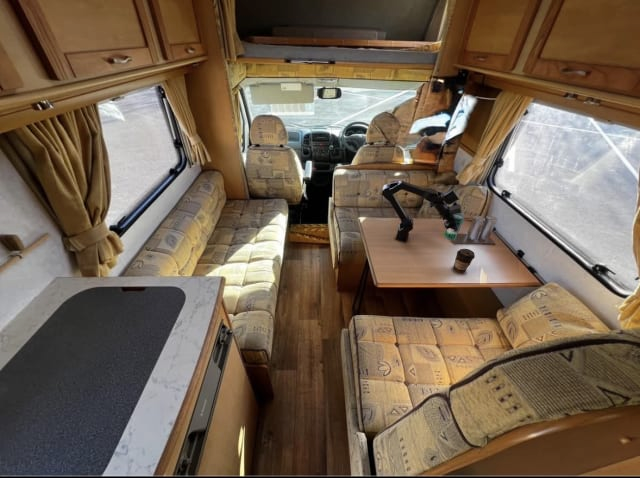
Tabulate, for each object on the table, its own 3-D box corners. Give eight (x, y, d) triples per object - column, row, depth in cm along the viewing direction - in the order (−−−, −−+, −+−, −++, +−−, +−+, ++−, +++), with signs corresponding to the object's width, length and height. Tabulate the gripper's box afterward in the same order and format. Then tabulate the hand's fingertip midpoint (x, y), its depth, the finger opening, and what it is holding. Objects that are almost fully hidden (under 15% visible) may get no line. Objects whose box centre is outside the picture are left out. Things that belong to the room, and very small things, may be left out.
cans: (468, 240, 163) (476, 220, 155) (463, 235, 168) (472, 215, 160) (489, 241, 163) (499, 220, 155) (484, 235, 168) (494, 215, 159)
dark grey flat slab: (454, 244, 162) (455, 242, 162) (448, 235, 171) (448, 233, 170) (494, 244, 162) (495, 243, 162) (486, 235, 170) (487, 234, 170)
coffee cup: (465, 278, 137) (474, 259, 130) (449, 272, 141) (456, 253, 133) (468, 269, 143) (476, 250, 136) (452, 263, 147) (459, 245, 139)
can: (442, 236, 159) (450, 214, 150) (448, 233, 161) (457, 212, 153) (450, 241, 154) (459, 219, 146) (457, 238, 157) (466, 217, 148)
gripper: (458, 208, 137) (473, 229, 142) (453, 193, 152) (466, 212, 156) (438, 219, 143) (453, 238, 148) (435, 203, 158) (448, 222, 162)
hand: (456, 227), depth 153 cm, fingers closed on can, 6 cm apart
